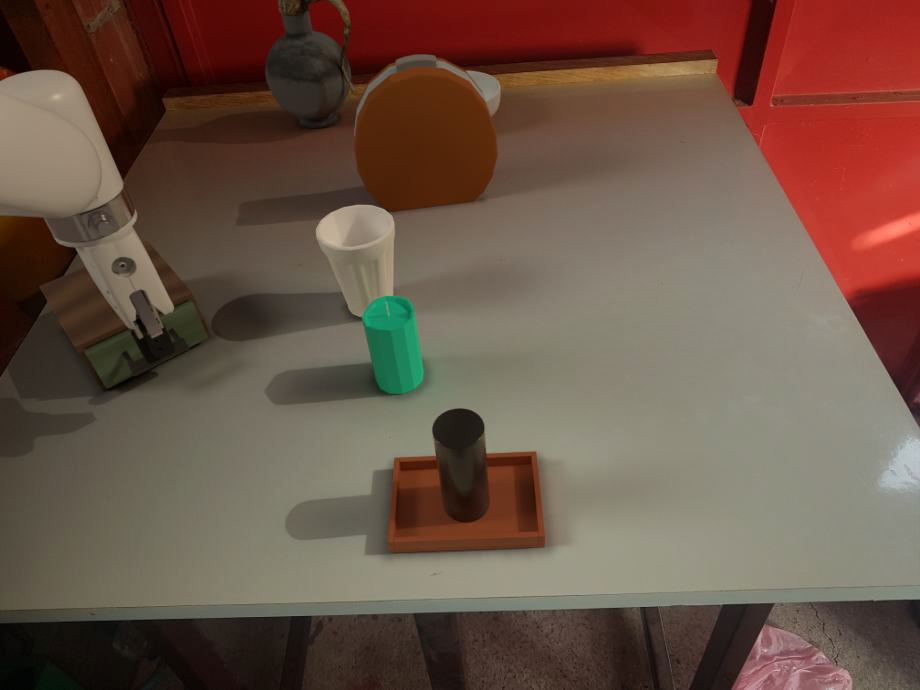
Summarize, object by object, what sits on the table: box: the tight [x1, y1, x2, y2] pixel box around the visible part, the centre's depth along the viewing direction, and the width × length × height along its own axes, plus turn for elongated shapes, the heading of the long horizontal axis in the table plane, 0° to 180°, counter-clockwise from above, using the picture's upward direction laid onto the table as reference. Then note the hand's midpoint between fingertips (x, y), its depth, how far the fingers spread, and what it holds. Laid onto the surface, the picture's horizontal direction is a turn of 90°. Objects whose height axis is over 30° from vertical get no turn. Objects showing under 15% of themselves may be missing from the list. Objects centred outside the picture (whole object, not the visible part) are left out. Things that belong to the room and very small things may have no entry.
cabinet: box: [38, 240, 212, 392], centre depth 92 cm, size 16×15×8 cm
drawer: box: [84, 300, 209, 390], centre depth 90 cm, size 19×14×6 cm
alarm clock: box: [353, 53, 499, 212], centre depth 109 cm, size 22×10×23 cm, turn 97°
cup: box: [315, 204, 396, 318], centre depth 91 cm, size 10×10×13 cm
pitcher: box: [264, 0, 358, 129], centre depth 128 cm, size 11×19×30 cm, turn 66°
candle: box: [361, 295, 425, 395], centre depth 81 cm, size 6×6×12 cm
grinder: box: [431, 407, 490, 523], centre depth 67 cm, size 5×5×12 cm
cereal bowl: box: [466, 70, 502, 118], centre depth 132 cm, size 17×17×7 cm
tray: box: [386, 450, 546, 554], centre depth 71 cm, size 15×10×2 cm
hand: (160, 354), depth 77 cm, fingers closed
